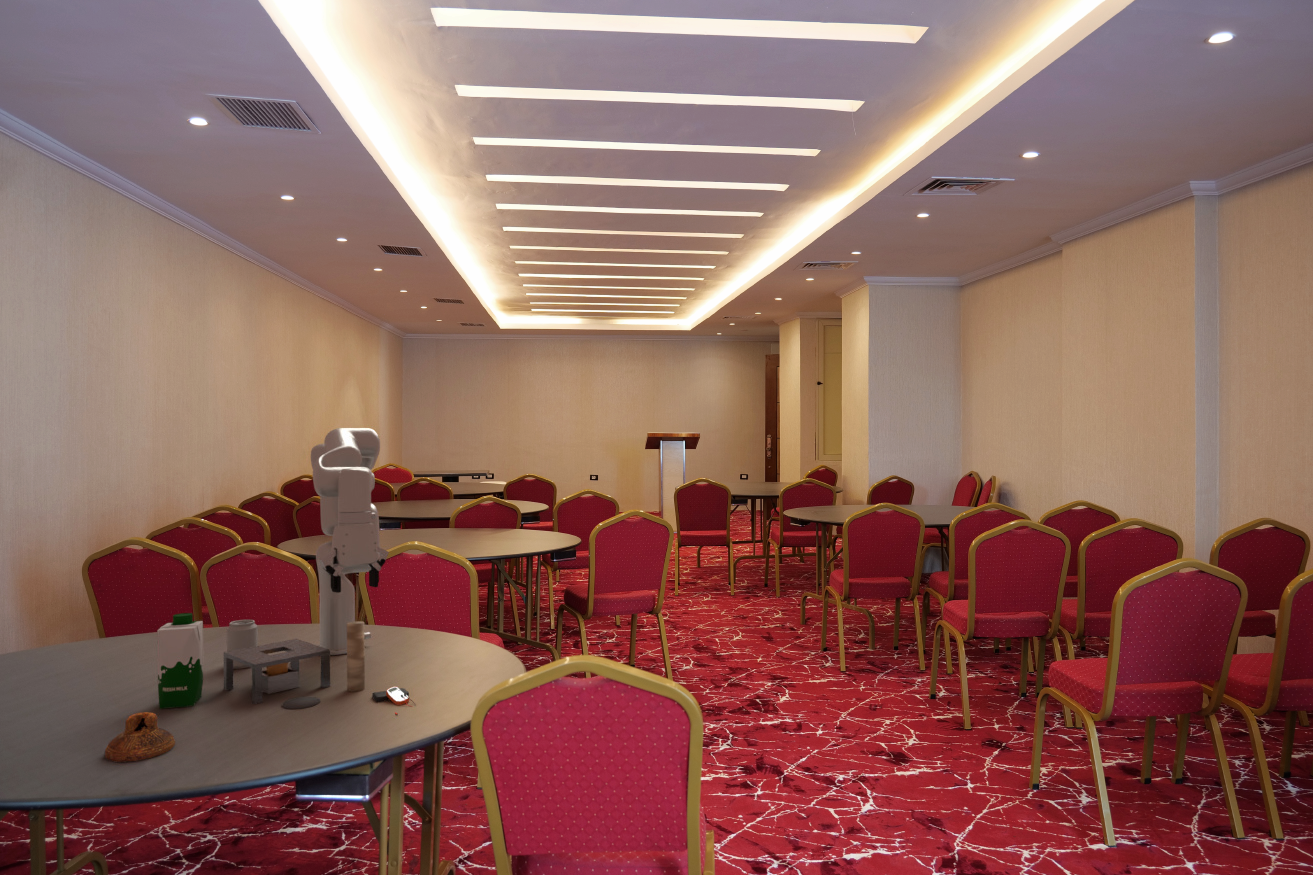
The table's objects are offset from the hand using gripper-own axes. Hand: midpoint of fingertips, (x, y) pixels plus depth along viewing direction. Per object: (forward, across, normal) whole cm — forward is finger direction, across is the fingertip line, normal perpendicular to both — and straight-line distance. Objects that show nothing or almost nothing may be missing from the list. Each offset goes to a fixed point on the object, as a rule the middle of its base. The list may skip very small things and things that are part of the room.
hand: (355, 589), depth 202 cm
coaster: (+24, +14, +1) cm, 28 cm away
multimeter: (+25, -2, +19) cm, 31 cm away
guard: (+24, +12, -16) cm, 31 cm away
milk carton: (+24, +32, -21) cm, 45 cm away
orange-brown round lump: (+21, +12, -16) cm, 29 cm away
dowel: (+24, 0, 0) cm, 24 cm away
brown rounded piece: (+25, +48, +6) cm, 55 cm away
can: (+24, +9, -44) cm, 51 cm away
